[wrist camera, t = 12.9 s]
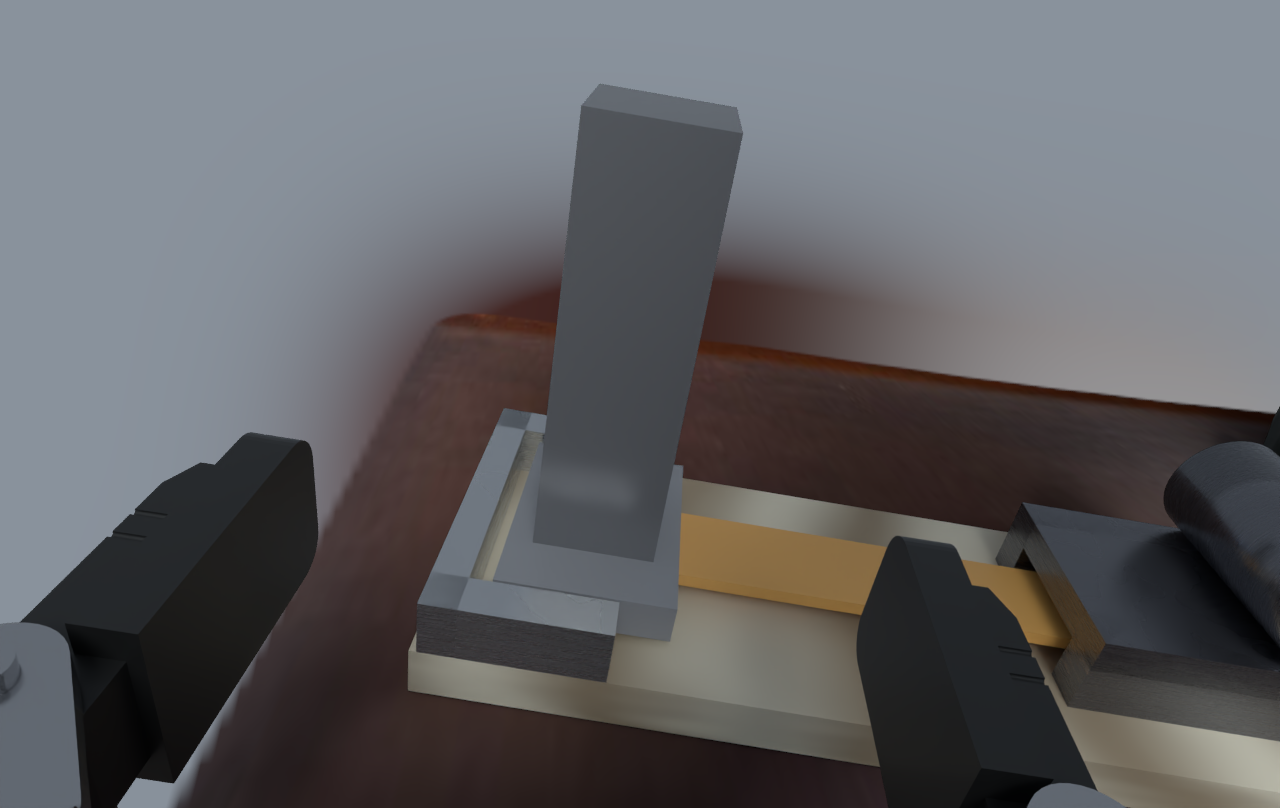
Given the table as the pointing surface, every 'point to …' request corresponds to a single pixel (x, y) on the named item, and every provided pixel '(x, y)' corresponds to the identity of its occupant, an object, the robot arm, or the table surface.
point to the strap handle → (665, 396)
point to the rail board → (830, 672)
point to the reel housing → (1170, 597)
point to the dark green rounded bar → (1274, 435)
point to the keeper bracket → (502, 613)
